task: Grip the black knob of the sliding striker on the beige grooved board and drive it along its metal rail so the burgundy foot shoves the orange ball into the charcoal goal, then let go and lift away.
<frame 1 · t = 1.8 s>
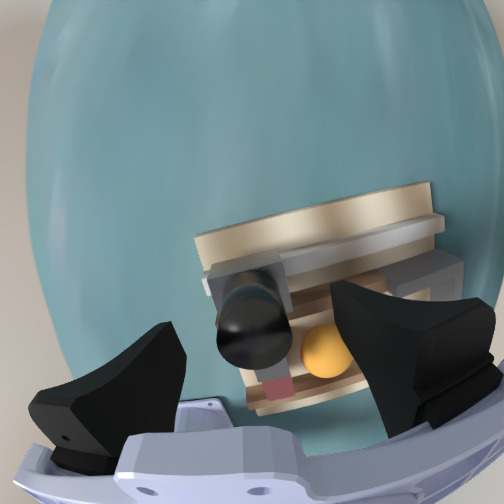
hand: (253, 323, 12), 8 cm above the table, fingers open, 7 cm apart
striker: (267, 351, 15), point 5 cm above the table, slide at 0.0 cm
goal: (402, 302, 21), resting on beige grooved board
beige grooved board: (339, 313, 21), on the table
ball: (327, 351, 19), point 3 cm above the table, touching beige grooved board
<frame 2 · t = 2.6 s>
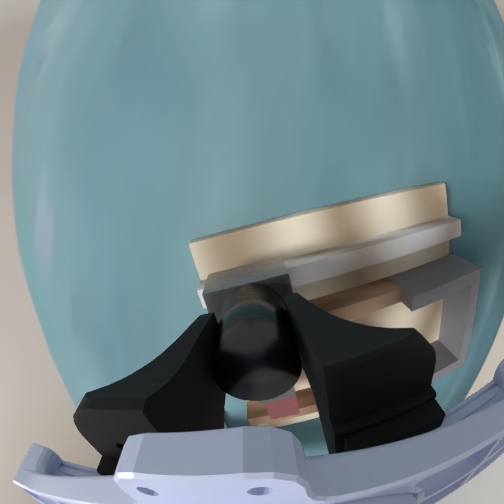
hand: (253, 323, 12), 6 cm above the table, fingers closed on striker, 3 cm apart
striker: (270, 371, 14), point 5 cm above the table, slide at 0.0 cm, touching gripper
goal: (413, 311, 19), resting on beige grooved board
beige grooved board: (347, 324, 19), on the table
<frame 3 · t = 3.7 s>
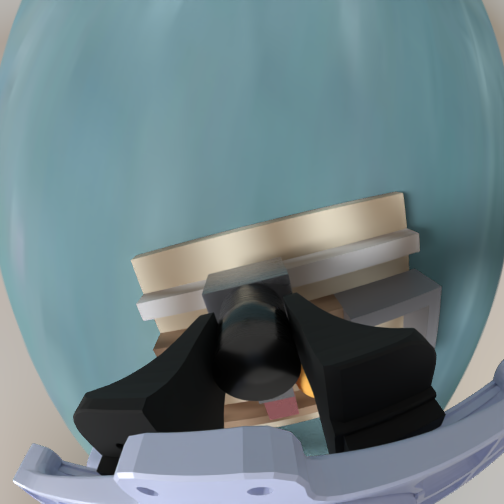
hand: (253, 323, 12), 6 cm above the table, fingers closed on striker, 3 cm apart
striker: (269, 371, 14), point 5 cm above the table, slide at 4.1 cm, touching gripper
goal: (370, 327, 19), resting on beige grooved board
beige grooved board: (295, 339, 19), on the table
ball: (322, 370, 17), point 3 cm above the table, tilted 91°, touching beige grooved board
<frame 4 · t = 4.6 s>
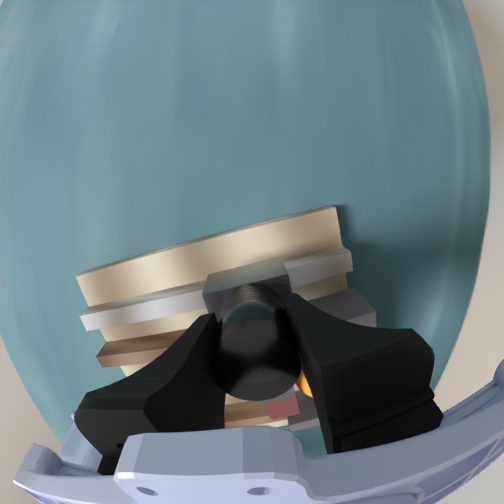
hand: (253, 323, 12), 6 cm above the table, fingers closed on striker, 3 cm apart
striker: (269, 371, 14), point 5 cm above the table, slide at 9.0 cm, touching gripper
goal: (311, 345, 20), resting on beige grooved board
beige grooved board: (231, 354, 20), on the table
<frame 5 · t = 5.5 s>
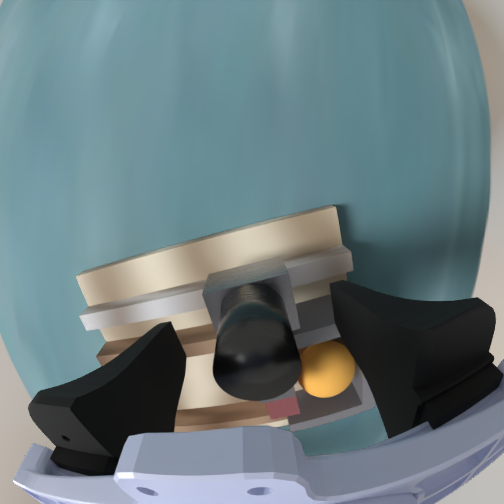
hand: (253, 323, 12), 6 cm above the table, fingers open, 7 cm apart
striker: (270, 371, 14), point 5 cm above the table, slide at 9.0 cm
goal: (311, 345, 20), resting on beige grooved board
beige grooved board: (231, 353, 20), on the table
ball: (325, 369, 17), point 3 cm above the table, tilted 122°, touching beige grooved board
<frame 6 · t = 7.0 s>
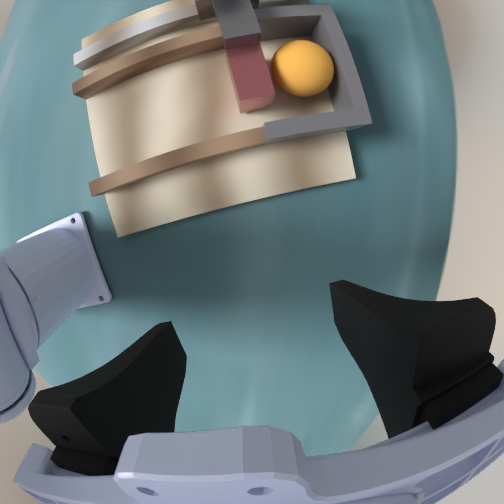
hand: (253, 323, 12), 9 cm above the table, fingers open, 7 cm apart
striker: (235, 18, 11), point 5 cm above the table, slide at 9.0 cm
goal: (287, 82, 17), resting on beige grooved board
beige grooved board: (204, 87, 17), on the table
ball: (302, 68, 14), point 3 cm above the table, tilted 118°, touching beige grooved board
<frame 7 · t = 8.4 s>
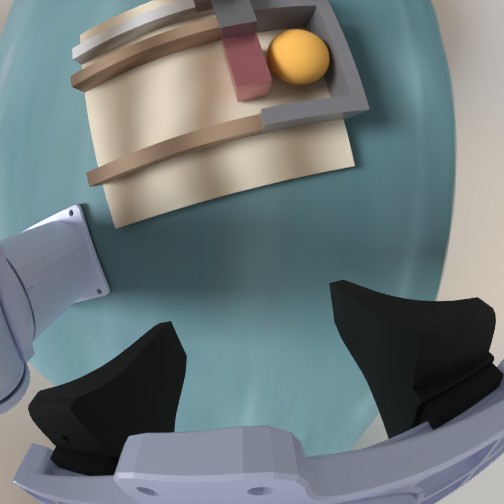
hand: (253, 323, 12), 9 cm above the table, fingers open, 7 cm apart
striker: (232, 8, 11), point 5 cm above the table, slide at 9.0 cm
goal: (284, 72, 17), resting on beige grooved board
beige grooved board: (201, 78, 17), on the table
ball: (298, 56, 14), point 3 cm above the table, tilted 119°, touching beige grooved board
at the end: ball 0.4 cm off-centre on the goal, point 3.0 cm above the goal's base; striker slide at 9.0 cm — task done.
